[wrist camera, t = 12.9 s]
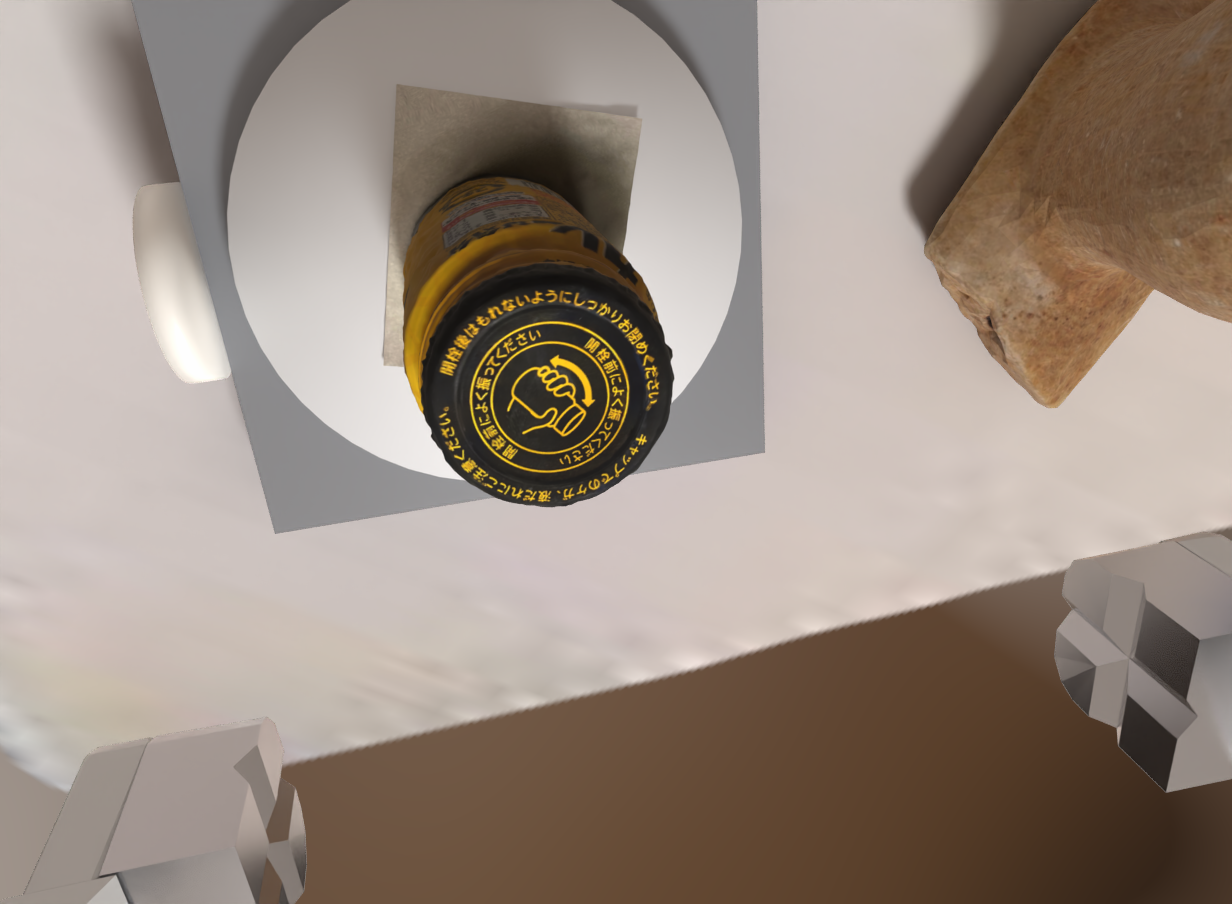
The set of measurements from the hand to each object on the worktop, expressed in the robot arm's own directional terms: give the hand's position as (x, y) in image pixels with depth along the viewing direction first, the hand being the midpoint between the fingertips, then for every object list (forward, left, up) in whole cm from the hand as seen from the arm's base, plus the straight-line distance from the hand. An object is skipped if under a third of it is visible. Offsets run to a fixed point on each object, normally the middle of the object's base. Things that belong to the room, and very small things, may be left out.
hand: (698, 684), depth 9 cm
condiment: (0, 0, -22) cm, 22 cm away
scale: (0, 0, -26) cm, 26 cm away
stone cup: (0, +22, -26) cm, 34 cm away
